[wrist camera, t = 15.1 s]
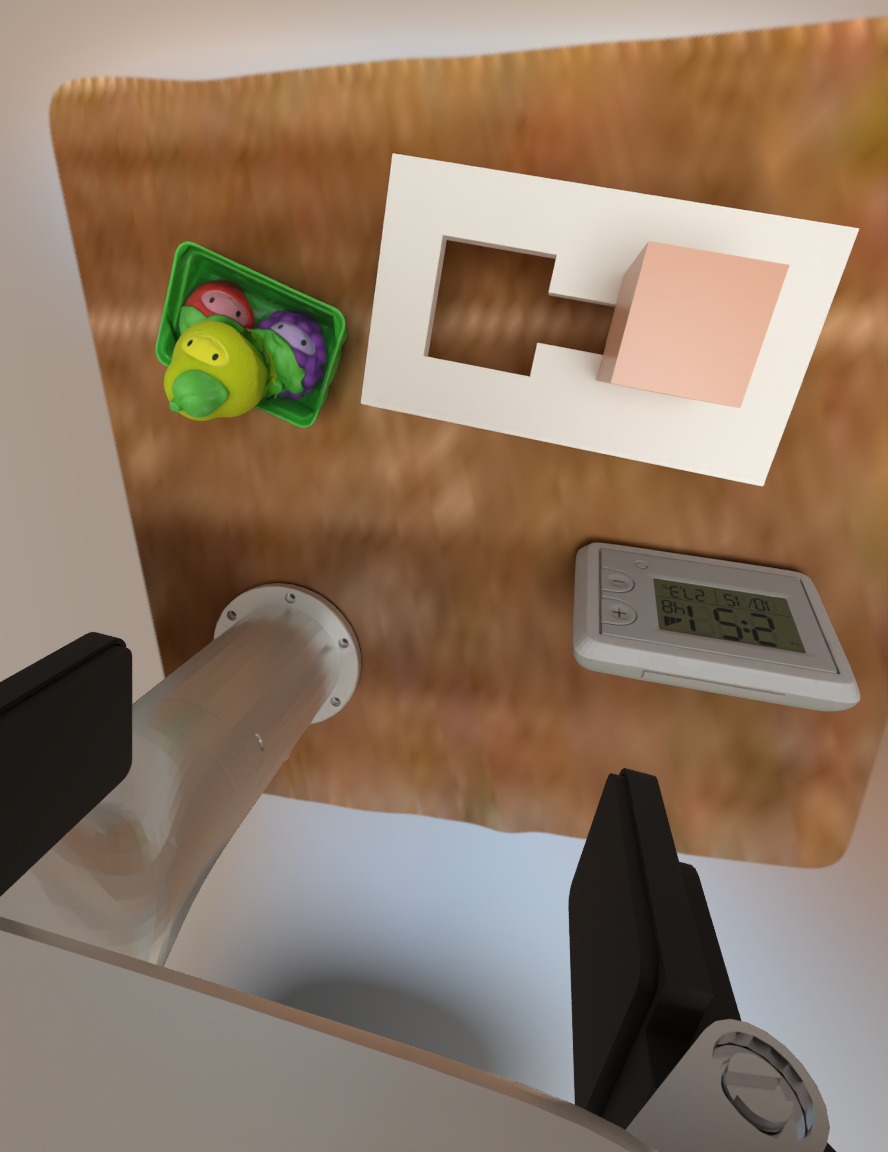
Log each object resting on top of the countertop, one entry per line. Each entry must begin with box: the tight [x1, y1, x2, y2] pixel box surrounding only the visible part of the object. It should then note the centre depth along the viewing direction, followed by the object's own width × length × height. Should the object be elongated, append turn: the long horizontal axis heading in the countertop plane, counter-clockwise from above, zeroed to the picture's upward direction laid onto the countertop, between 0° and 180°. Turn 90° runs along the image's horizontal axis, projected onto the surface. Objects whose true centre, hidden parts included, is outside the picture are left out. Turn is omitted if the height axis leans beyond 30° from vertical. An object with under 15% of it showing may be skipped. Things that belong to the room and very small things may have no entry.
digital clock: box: [572, 543, 860, 711], centre depth 38 cm, size 16×9×11 cm, turn 73°
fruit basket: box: [155, 241, 348, 428], centre depth 37 cm, size 11×9×11 cm
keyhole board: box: [361, 153, 859, 486], centre depth 34 cm, size 12×22×9 cm, turn 80°
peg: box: [596, 241, 789, 408], centre depth 27 cm, size 5×5×11 cm
